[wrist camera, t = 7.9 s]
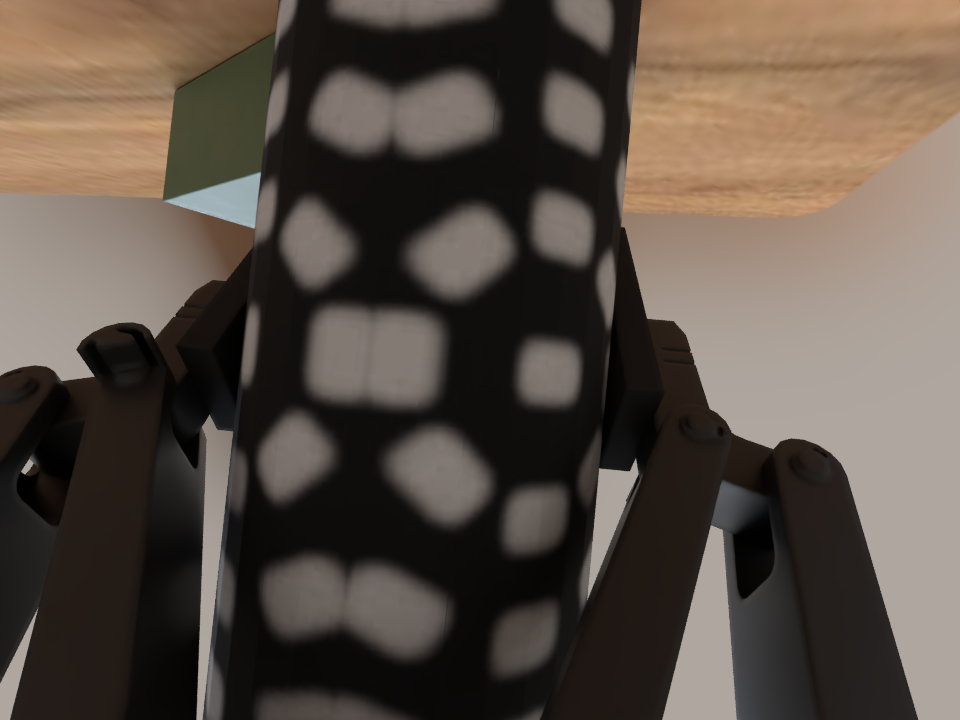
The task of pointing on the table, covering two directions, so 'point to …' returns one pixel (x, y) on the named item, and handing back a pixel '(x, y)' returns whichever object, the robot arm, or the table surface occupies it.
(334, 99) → the spotted tube
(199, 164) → the block
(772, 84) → the table surface
